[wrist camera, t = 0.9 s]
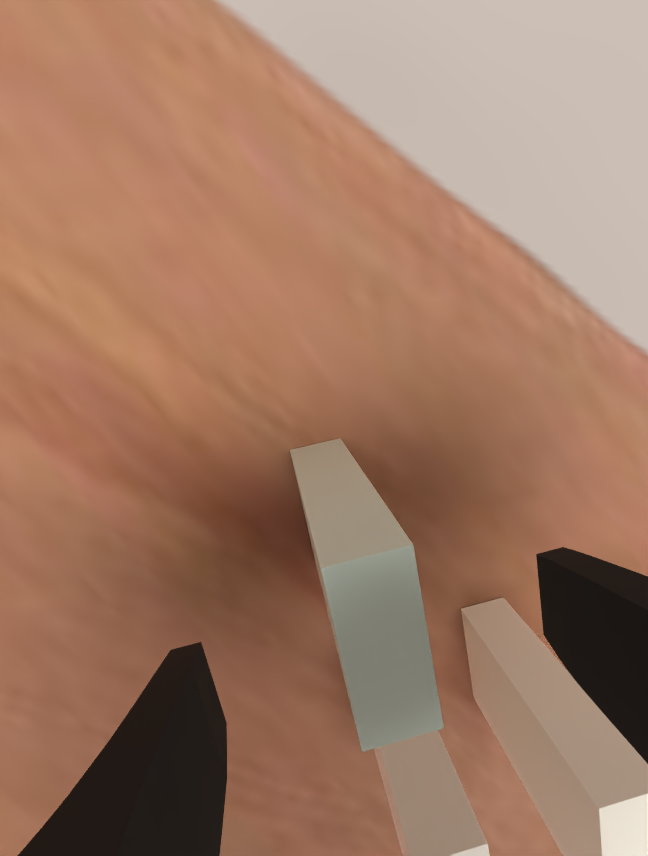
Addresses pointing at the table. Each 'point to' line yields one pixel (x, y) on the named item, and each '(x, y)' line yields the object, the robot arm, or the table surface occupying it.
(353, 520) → the domino
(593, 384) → the table surface
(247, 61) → the table surface
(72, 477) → the table surface
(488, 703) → the domino
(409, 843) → the domino
